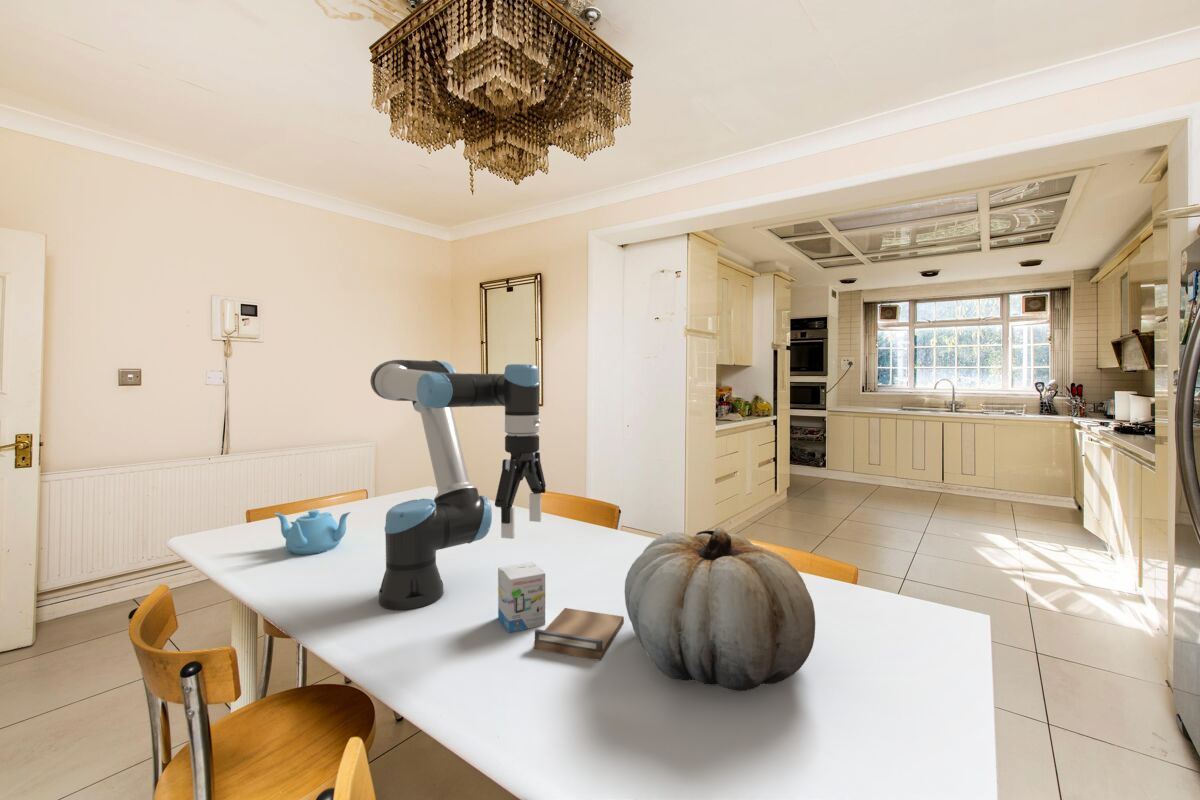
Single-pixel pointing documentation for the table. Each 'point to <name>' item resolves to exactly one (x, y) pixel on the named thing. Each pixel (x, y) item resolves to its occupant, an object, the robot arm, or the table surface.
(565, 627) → the brown flat block
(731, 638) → the pumpkin
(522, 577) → the ink box
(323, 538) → the teapot
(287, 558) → the table surface
